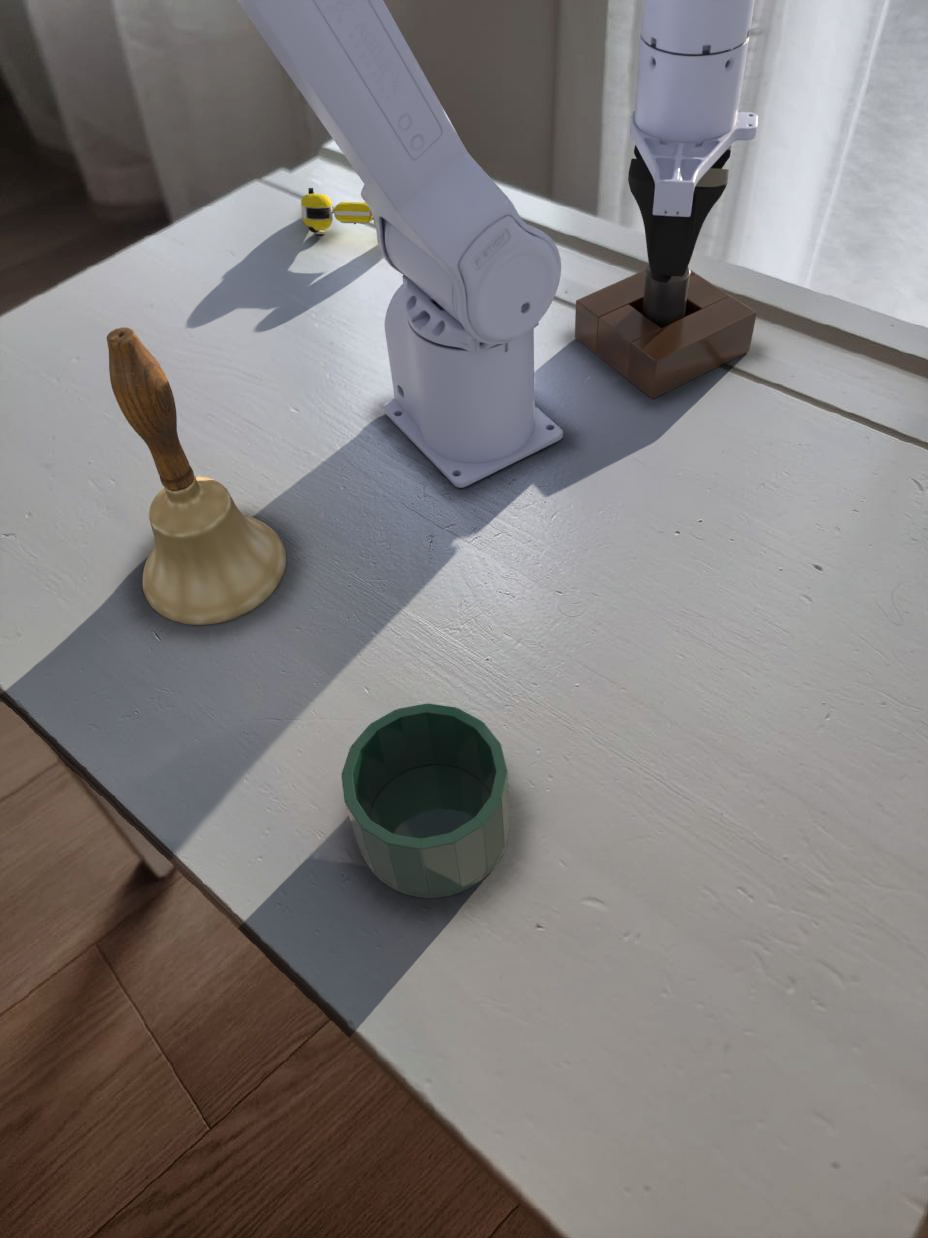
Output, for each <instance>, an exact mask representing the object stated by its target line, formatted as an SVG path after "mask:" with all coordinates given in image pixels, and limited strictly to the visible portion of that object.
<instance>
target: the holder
mask: <svg viewBox="0 0 928 1238" xmlns="http://www.w3.org/2000/svg"><path fill="white" fill-rule="evenodd" d="M645 276H646V269H643V270H641V271H639V272H636V273H635V274H632V275H629V276H627V277H625V278H623V279H621V280H619V281H617V282H614V283H612V284H610V285H607V286H605V287H603V288H600V289H599V290H596V291H594V292H592V293H590V294H587V295H585V296H583V297H580V298H578V299H576V300H575V315H574V316H575V320H574V339H576V340H577V341H578V342H579V343H581V344H582V345H583V346H585V347H586V348H587V349H588V350H590V351H591V352H592V353H593V354H595V355H596V356H597V357H598V358H599V359H601V360H602V361H603V362H605V364H607V365H608V366H610V367H611V368H612V369H614V370H615V371H616V372H617V373H619V374H620V375H621V376H622V377H623V378H625V379H626V380H628V381H629V382H630V383H631V384H632V385H634V386H635V387H637V388H638V389H639V390H640V391H642V392H643V393H644V394H645V395H647V396H648V397H649V398H650V399H652V400H654V399H656V398H658V397H660V396H662V395H664V394H666V393H668V392H670V391H672V390H673V389H676V388H678V387H681V386H683V384H686V383H688V382H690V381H692V380H695V379H696V378H698V377H700V376H702V375H704V374H706V373H708V372H710V371H713V370H714V369H716V368H719V367H720V366H722V365H724V364H726V363H729V362H730V361H733V360H734V359H736V358H738V357H740V356H742V355H744V354H746V353H748V352H750V350H751V346H752V340H753V334H754V329H755V324H756V320H757V314H758V313H757V311H755V310H753V309H752V308H750V306H747V305H746V304H744V303H742V302H741V301H740V300H738V299H736V298H735V297H734V296H732V295H730V294H728V293H726V292H725V291H724V290H722V289H721V288H720V287H718V286H716V285H714V284H713V283H712V282H710V281H709V280H708V279H705V278H704V277H702V275H701V276H700V275H699V274H698V273H696V272H695V271H693V270H692V269H690V279H689V287H688V294H687V302H686V309H685V317H684V318H682V319H680V320H678V321H676V322H674V323H672V324H670V325H668V326H665V327H663V328H660V327H659V326H658V325H656V324H655V323H653V322H652V321H651V320H649V319H648V318H646V317H645V316H644V315H642V309H643V298H644V287H645Z"/></svg>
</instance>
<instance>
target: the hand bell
mask: <svg viewBox="0 0 928 1238" xmlns="http://www.w3.org/2000/svg"><path fill="white" fill-rule="evenodd" d="M106 342H107V348H108V367H109V368H108V372H109V380H110V385H111V389H112V393H113V395H114V398H115V399H116V403H117V405H118V407H119V409H120V411H121V413H122V414H123V416H124V418H125V419H126V421H127V423H128V424H129V425H130V427H131V428H132V429H133V430H134V432H135V433H136V434H137V435H138V437H140V439H142V440H143V442H144V443H145V444H146V446H147V447H148V450H149V452H150V455H151V457H152V459H153V462H154V465H155V468H156V470H157V471H156V472H157V473H158V476H159V481H160V482H161V485H162V486H163V488H162V489H161V490H159V492H158V493H157V494H156V495H155V496H154V498H153V499H152V501H151V503H150V506H149V509H148V510H149V511H148V519H149V524H150V527H151V530H152V534H153V540H154V546H153V548H152V550H151V552H150V554H149V555H148V556H147V559H146V561H145V564H144V567H143V573H142V580H141V581H142V589H143V594H144V596H145V599H146V600H147V602H148V604H149V605H150V607H151V608H152V609H153V610H155V611H156V612H157V613H158V614H159V615H161V616H162V617H164V618H166V619H168V620H171V621H173V622H175V623H179V624H185V625H191V626H192V625H193V626H204V625H213V624H215V625H216V624H221V623H225V622H228V621H231V620H234V619H237V618H239V617H241V616H243V615H245V614H247V613H249V612H251V611H252V610H255V609H256V608H257V607H258V606H260V605H261V604H262V603H263V602H265V601H266V600H267V599H268V598H269V597H270V596H271V595H272V594H273V592H274V591H275V590H276V589H277V588H278V585H279V584H280V582H281V580H282V578H283V575H284V574H285V569H286V565H287V553H286V552H287V551H286V549H285V545H284V543H283V541H282V539H281V537H280V536H279V534H278V533H277V532H276V531H275V530H274V529H273V528H272V527H270V526H269V525H268V524H266V523H264V522H263V521H261V520H259V519H257V518H254V517H253V516H249V515H246V514H243V513H242V511H241V510H240V509H239V508H238V506H237V505H236V503H235V501H234V499H233V498H232V495H231V494H230V492H229V490H228V488H227V487H226V486H225V485H223V484H222V483H221V482H219V481H218V480H216V479H214V478H210V477H205V476H195V473H194V470H193V468H192V466H191V465H190V462H189V460H188V457H187V455H186V453H185V451H184V448H183V447H182V444H181V442H180V438H179V434H178V418H177V417H178V416H177V405H176V401H175V397H174V393H173V390H172V387H171V384H170V382H169V379H168V377H167V375H166V372H165V371H164V369H163V368H162V366H161V364H160V363H159V361H158V360H157V358H156V357H155V356H154V355H153V354H152V353H151V351H149V349H148V348H147V347H146V346H145V345H144V344H143V342H142V341H141V340H140V338H139V337H138V336H137V334H136V332H135V330H134V329H132V328H130V327H125V326H123V327H118V328H115V329H113V330H112V331H110V332H109V333H108V334H107V336H106Z"/></svg>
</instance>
